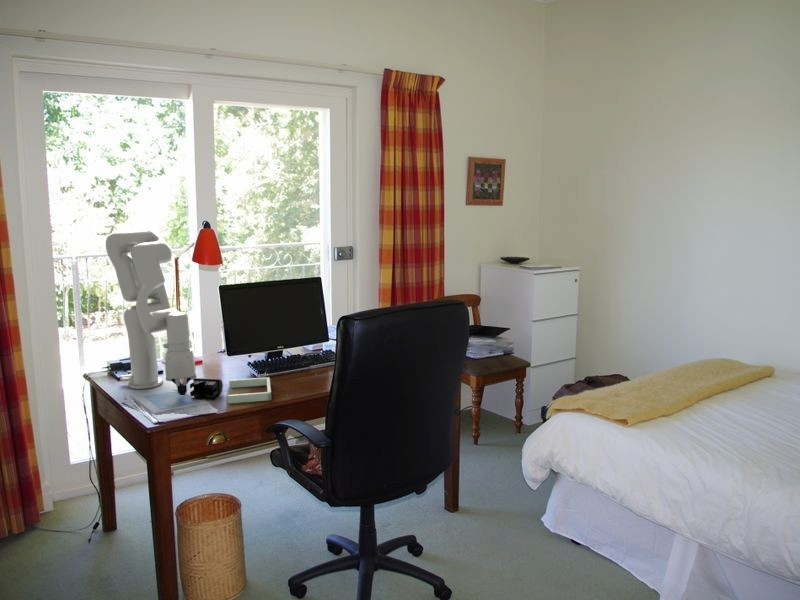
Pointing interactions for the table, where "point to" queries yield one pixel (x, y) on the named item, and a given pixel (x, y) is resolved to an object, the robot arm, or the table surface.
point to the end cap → (206, 389)
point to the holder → (250, 396)
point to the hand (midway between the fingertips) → (182, 394)
